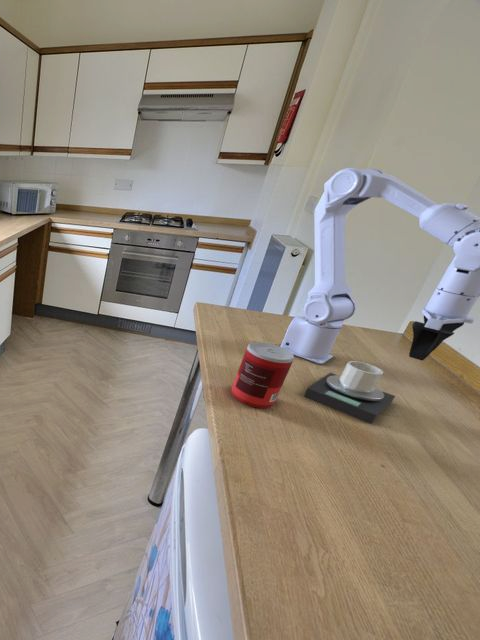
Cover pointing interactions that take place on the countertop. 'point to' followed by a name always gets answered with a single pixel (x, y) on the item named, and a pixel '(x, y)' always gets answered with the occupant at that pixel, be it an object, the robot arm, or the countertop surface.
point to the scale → (347, 401)
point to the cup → (360, 376)
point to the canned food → (261, 374)
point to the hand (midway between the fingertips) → (420, 354)
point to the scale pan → (370, 396)
